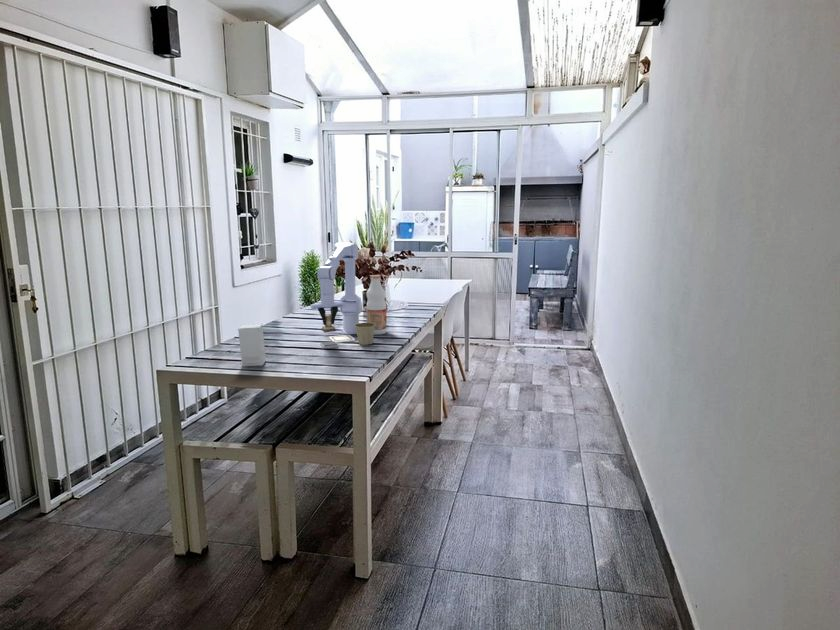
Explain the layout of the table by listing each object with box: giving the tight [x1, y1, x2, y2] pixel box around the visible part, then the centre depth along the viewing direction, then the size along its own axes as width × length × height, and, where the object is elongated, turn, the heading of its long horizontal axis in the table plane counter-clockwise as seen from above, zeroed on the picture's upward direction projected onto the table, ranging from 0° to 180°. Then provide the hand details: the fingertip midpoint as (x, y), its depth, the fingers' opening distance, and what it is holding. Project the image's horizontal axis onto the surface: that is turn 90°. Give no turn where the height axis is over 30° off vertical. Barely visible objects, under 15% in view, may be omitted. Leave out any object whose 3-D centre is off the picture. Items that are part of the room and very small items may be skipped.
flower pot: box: [354, 322, 376, 346], centre depth 254 cm, size 9×9×9 cm
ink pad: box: [320, 341, 339, 349], centre depth 251 cm, size 7×7×1 cm
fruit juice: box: [366, 274, 388, 336], centre depth 272 cm, size 9×9×28 cm
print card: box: [328, 334, 357, 344], centre depth 262 cm, size 11×10×1 cm
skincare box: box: [237, 323, 267, 367], centre depth 222 cm, size 8×7×16 cm
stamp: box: [321, 314, 337, 333], centre depth 249 cm, size 5×5×7 cm
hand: (328, 324), depth 249 cm, fingers closed on stamp, 3 cm apart
